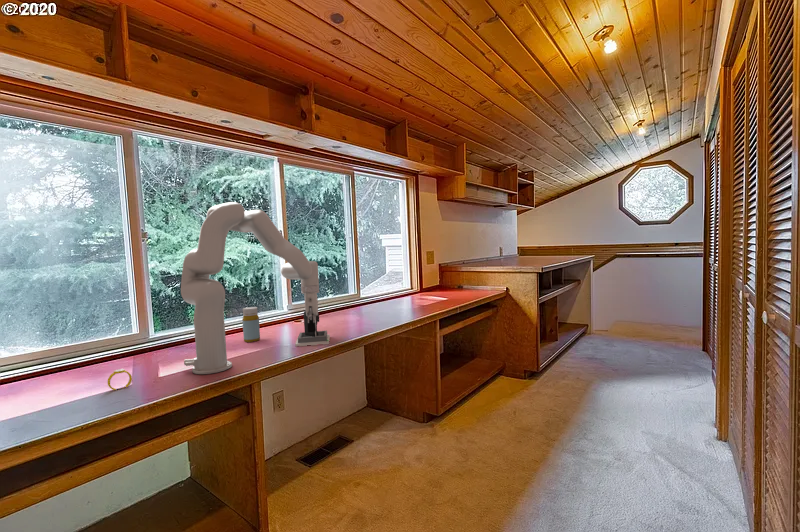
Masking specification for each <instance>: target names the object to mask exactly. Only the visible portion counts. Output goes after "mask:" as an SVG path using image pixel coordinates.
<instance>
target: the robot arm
mask: <svg viewBox="0 0 800 532" xmlns="http://www.w3.org/2000/svg"><path fill="white" fill-rule="evenodd" d="M230 231H232V232H239V233H244V234H245V233H252V235H254V236H255V238H256V239H257V240H258V241H259V243H260V244H261V245H262V247H263V249H265V251H267V252H269V253H270V254H272V255H274V256H277V257H279V258H280V259H282V260H285V261H286V262H285V263H284V264H282V266H281V267H280V272H281V275H282V277H283V278H285V279H287V280H296V281H297V280H298V281H299V280H300V290H301V294H302V295H303V296H304V308H305V309H304V311H306V316H307V317H308V332H316V327H315V318H314V317H315V316H314V315H316V316H317V315H318V313H319V303H318V293H320V285H319V284H320V283H319V282H320V281H319V264H318V262H317V261H315V260H310V261H309V259H308V258H307V256H306V255H305V254H304V253H303V251H302V250H301V249H299V248H298V247H297V246H295V245H294V244H293V243H291V242H290V241H289V240H287V239H286V238H285V237H284V236H283V235H282V233H281V232H280V230H279V228H278V227H276V224H274V222H273V221H272V220H271V218H270V216H268V214H267V213H266V212H265V211H264V210H261V209H251V210H245V208H244V206H243V205H242V204H241V203H239V202H236V201H235V202H234V201H228V202H223V203H221V204H215V205H213V206H211V207H209V209H208V210H207V212H206V218H205V219H204V221H203V222H202V225H201V228H200V230H199V238H198V244H197V248H193V249H191V250H190V251H189V252H188V253H186V255H185V257H184V260H183V263H182V272H181V279H180V280H181V282H180V295H181V297H182V299H183V301H184V302H186V303H187V304H189V305H192V306H194V312H193V327H194V329H193V330H194V339H195V341H194V342H195V353H196V354H195V355H196V357H194V358H187V359H184V360H183V365H184V366H186V367H189V366H192V368H191V369H192V373H193V374H195V375H210V374H217V373H220V372H223V371H227V370H229V369H230V368H232V367H233V362H232V361H230V360H228V355H227V354H228V353H227V342H226V340H227V339H226V328H225V327H226V324H225V302H226V290H225V288H224V285H223V284H222V283H221V282H220V281H218V280H216V279H212V278H210V276H212V275H213V276H214V275H217V274H218V273H220V272H221V271H222V270H223V267H224V261H225V251H226V249H225V248H226V241H227V236H228V234H229V232H230ZM307 313H308V314H307ZM312 314H313V315H312Z"/></svg>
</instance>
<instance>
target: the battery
mask: <svg viewBox="0 0 800 532" xmlns="http://www.w3.org/2000/svg"><path fill="white" fill-rule="evenodd" d="M307 314H308V313H307ZM312 315H313V314H312ZM314 316H315V317H314V318H315V327H316V332H308V317H307V316H306V310H304V311H303V326H304V327H303V328H304V332H305V335H306V336H311V337H316V336H318V335H319V334H318V332H317V331H318V323H319V322H320V313H319V312H318V315H317V316H316V315H314Z"/></svg>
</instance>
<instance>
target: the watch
mask: <svg viewBox="0 0 800 532" xmlns="http://www.w3.org/2000/svg"><path fill="white" fill-rule="evenodd" d="M122 373H126V374H127V375H128V377H129V379H128V382H127V384H126V385H125V386H126V387H127V388H128V387H129V386H130V385H131V383H132V381H133V378H132V375H131V373H130V372H129V371H127V370H125V368H119V369H115V370H113V372H112V373H111V374H110V375H109V376H108V378H107V386H108V388H110V389H111V390H113V391H115V390H116V388H114V387H113V386H112V385H111V380H112V378H113V377H114V376H115V375H117V374H118V375H119V374H122ZM116 391H117V390H116Z"/></svg>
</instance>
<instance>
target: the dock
mask: <svg viewBox="0 0 800 532" xmlns="http://www.w3.org/2000/svg"><path fill="white" fill-rule="evenodd" d="M317 332H318V334H319V335H318V336H316V337H311V336H306V335H305V331H304V332H302V331H301V332H299V334H298V337H297V339H296V341H295V347H296V348H298V347H297V346H299V347H308V346H307V345H311V346H318V345H317V344H323V345H329V344H330V342H329V341H331V335H330V333H329V334H328V330H317Z"/></svg>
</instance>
